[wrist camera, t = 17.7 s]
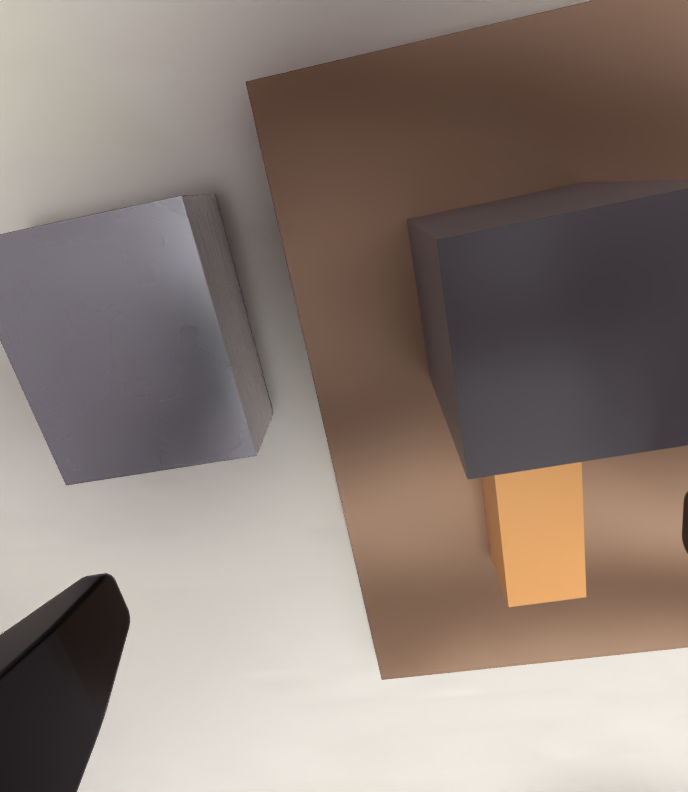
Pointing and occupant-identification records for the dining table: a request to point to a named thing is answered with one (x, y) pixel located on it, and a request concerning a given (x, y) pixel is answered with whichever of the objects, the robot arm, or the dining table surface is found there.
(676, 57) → the walnut board
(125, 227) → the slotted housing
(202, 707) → the dining table surface
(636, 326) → the plug
